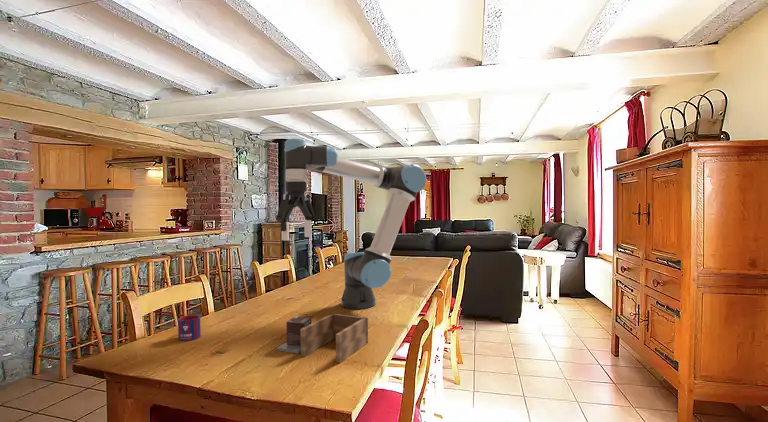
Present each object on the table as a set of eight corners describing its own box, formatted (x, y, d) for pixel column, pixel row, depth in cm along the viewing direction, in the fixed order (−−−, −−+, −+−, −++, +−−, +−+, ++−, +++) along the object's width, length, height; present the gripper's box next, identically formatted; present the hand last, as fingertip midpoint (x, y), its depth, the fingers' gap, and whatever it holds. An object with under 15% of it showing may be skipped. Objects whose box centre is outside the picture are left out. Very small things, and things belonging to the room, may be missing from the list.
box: (304, 346, 117) (303, 322, 117) (286, 345, 119) (285, 321, 118) (312, 339, 123) (312, 317, 123) (295, 338, 125) (294, 316, 124)
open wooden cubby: (332, 337, 128) (332, 313, 127) (368, 342, 122) (367, 317, 122) (300, 356, 112) (300, 329, 112) (339, 363, 106) (339, 334, 106)
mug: (175, 341, 126) (174, 321, 126) (186, 331, 136) (186, 312, 136) (196, 340, 127) (196, 320, 126) (206, 330, 137) (206, 311, 136)
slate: (301, 337, 128) (301, 334, 128) (321, 340, 125) (321, 338, 125) (277, 350, 117) (277, 347, 117) (298, 353, 114) (298, 351, 114)
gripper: (307, 183, 155) (308, 235, 155) (264, 180, 132) (266, 241, 133) (323, 182, 152) (324, 236, 152) (282, 179, 129) (283, 242, 130)
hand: (297, 238), depth 142 cm, fingers open, 13 cm apart
